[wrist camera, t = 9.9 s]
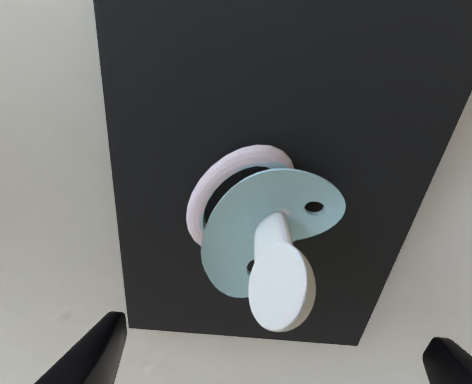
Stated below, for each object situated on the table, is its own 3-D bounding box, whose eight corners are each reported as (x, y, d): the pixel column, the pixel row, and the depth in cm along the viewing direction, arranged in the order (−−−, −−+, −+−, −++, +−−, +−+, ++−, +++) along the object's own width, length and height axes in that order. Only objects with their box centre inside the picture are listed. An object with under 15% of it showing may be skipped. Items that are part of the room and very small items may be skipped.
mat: (510, -17, 11) (521, -19, 11) (355, 339, 21) (357, 346, 20) (91, -66, 11) (84, -70, 10) (130, 321, 20) (128, 328, 20)
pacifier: (164, 223, 16) (255, 277, 17) (118, 325, 10) (258, 392, 12) (249, 109, 13) (350, 185, 14) (248, 165, 7) (413, 281, 9)
